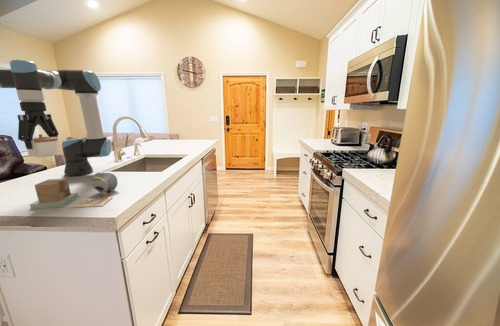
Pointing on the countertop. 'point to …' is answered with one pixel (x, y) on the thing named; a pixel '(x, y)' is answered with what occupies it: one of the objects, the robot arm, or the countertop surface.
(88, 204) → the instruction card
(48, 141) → the lidded jar
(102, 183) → the decorative toy
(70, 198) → the base plate
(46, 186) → the walnut cube
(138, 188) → the countertop surface
